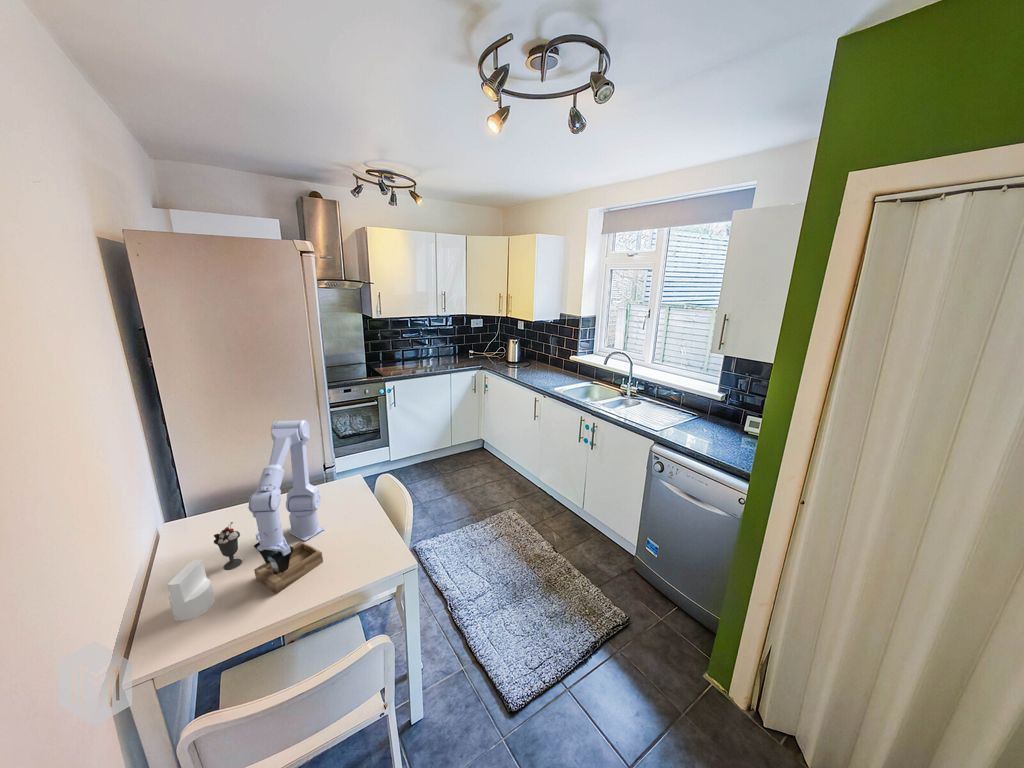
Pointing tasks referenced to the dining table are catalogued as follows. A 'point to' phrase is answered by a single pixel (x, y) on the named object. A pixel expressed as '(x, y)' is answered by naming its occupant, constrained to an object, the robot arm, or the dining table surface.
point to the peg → (273, 563)
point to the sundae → (228, 546)
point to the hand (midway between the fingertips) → (277, 565)
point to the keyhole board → (290, 568)
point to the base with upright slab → (190, 592)
